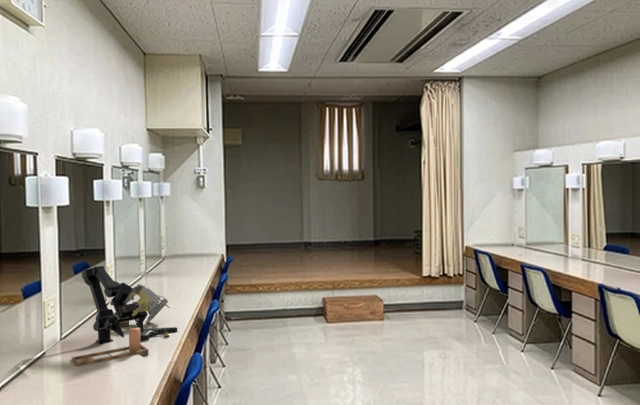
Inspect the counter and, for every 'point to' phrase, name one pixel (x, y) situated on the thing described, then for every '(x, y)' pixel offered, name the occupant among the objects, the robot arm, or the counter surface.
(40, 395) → the counter surface
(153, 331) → the pistol
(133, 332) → the smooth tapered peach-colored object
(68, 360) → the counter surface
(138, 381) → the counter surface
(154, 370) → the counter surface
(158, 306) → the circular saw
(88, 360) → the box
